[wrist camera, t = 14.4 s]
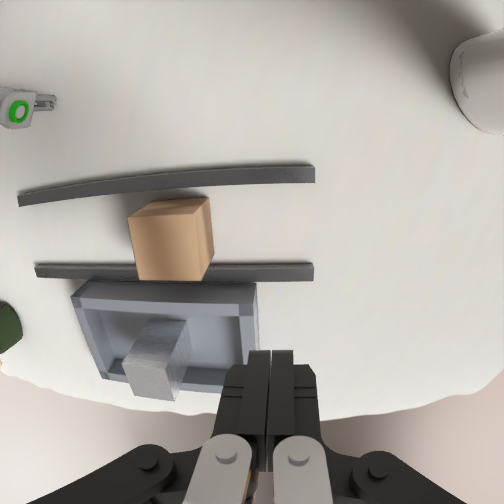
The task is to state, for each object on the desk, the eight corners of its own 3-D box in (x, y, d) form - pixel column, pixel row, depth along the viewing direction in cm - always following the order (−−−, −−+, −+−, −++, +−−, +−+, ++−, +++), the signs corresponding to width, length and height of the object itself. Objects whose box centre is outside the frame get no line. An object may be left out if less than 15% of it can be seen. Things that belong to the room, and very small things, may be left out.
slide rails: (313, 165, 24) (314, 167, 23) (312, 275, 27) (313, 281, 26) (22, 193, 27) (17, 196, 26) (42, 273, 30) (37, 277, 29)
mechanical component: (85, 125, 24) (7, 134, 14) (17, 111, 23) (-53, 120, 14) (93, 94, 23) (16, 91, 13) (23, 84, 22) (-48, 86, 13)
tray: (256, 283, 28) (253, 304, 25) (260, 371, 32) (258, 394, 29) (87, 280, 30) (70, 296, 27) (113, 359, 34) (102, 378, 31)
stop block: (186, 320, 29) (164, 369, 23) (193, 351, 31) (175, 401, 24) (149, 318, 30) (121, 363, 23) (157, 349, 31) (134, 395, 25)
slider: (209, 197, 25) (193, 214, 21) (214, 254, 27) (200, 280, 23) (146, 201, 26) (120, 218, 21) (155, 254, 28) (132, 279, 23)
